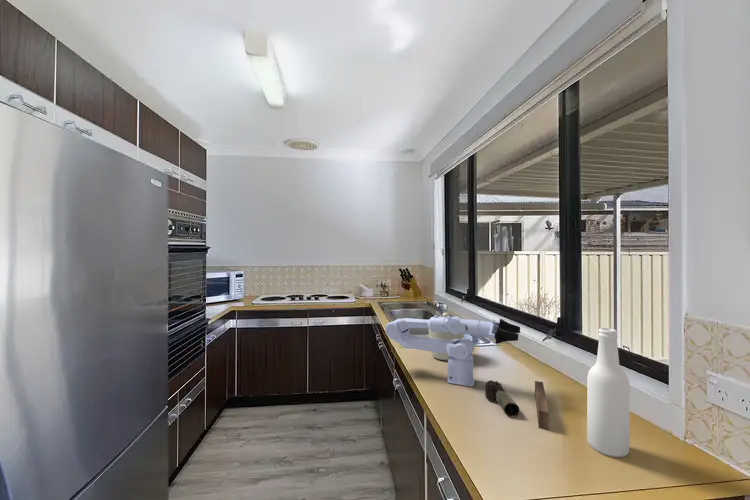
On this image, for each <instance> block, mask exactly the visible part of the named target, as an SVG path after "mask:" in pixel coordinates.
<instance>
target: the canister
mask: <svg viewBox="0 0 750 500" xmlns="http://www.w3.org/2000/svg"><path fill="white" fill-rule="evenodd" d="M447 316H450V318H452V317H453V316H452V317H451V315H450V313H449V312H442V314H441V317H447ZM427 329H428V338H434V339H443V340H455V339H457V340H460V339H463V338H464V335H465V334H463V333H458V334H456V335H453V334H452V333H451V332H433V331H431V330H430V329H429V328H427ZM430 353H431V355H432V357H434V358H435V359H437V360H440V361H447V362H448V359H449V357H452V356H449V355H448V354H447V353H440V352H432V351H430Z"/></svg>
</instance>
